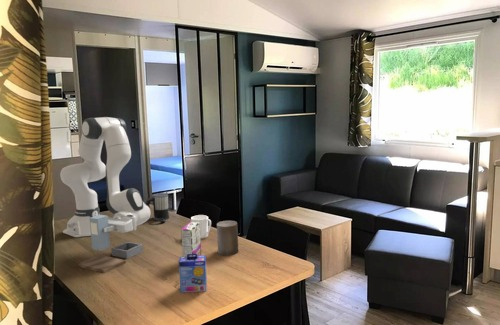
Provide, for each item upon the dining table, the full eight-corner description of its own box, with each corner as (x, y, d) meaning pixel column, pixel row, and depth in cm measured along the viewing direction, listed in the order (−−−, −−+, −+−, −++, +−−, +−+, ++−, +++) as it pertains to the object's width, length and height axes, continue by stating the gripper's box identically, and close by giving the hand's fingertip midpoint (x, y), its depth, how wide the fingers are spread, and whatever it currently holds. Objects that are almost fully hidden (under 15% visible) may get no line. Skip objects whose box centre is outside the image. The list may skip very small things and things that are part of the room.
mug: (188, 238, 212) (187, 219, 210) (197, 233, 220) (196, 214, 218) (207, 240, 208) (206, 220, 206) (215, 235, 216) (214, 216, 214)
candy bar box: (191, 256, 186) (189, 221, 184) (201, 257, 185) (200, 222, 183) (182, 266, 175) (180, 229, 173) (193, 266, 174) (191, 229, 172)
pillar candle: (242, 251, 191) (241, 220, 189) (227, 257, 184) (226, 224, 182) (228, 246, 198) (227, 216, 196) (213, 252, 191) (212, 221, 189)
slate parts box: (92, 249, 176) (89, 217, 174) (102, 245, 181) (99, 214, 179) (100, 250, 174) (97, 219, 172) (110, 246, 179) (107, 215, 177)
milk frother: (164, 215, 258) (163, 192, 256) (178, 220, 246) (177, 196, 244) (144, 220, 248) (142, 196, 246) (157, 225, 237) (155, 200, 235)
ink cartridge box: (179, 293, 150) (177, 255, 148) (181, 286, 155) (179, 250, 153) (206, 291, 150) (205, 254, 148) (207, 285, 156) (205, 248, 154)
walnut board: (78, 266, 178) (78, 263, 177) (100, 257, 188) (100, 254, 188) (104, 273, 170) (104, 270, 170) (125, 262, 180) (125, 260, 180)
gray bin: (112, 255, 190) (111, 248, 189) (128, 248, 199) (127, 241, 198) (127, 258, 185) (126, 251, 185) (142, 251, 194) (142, 244, 194)
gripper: (105, 212, 192) (81, 220, 180) (137, 216, 183) (114, 225, 171) (106, 225, 193) (82, 233, 181) (138, 230, 183) (115, 239, 171)
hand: (98, 229), depth 176 cm, fingers closed on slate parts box, 5 cm apart
